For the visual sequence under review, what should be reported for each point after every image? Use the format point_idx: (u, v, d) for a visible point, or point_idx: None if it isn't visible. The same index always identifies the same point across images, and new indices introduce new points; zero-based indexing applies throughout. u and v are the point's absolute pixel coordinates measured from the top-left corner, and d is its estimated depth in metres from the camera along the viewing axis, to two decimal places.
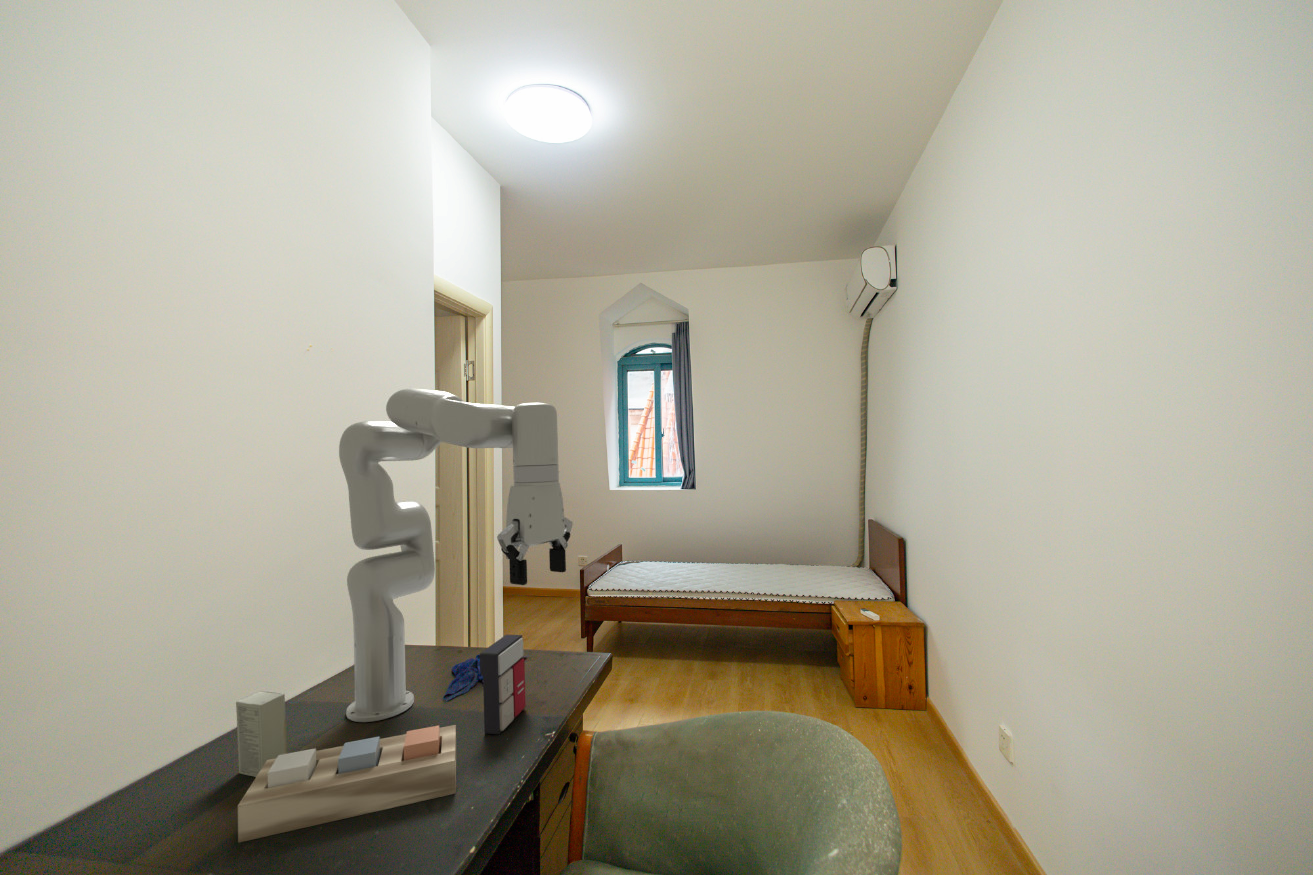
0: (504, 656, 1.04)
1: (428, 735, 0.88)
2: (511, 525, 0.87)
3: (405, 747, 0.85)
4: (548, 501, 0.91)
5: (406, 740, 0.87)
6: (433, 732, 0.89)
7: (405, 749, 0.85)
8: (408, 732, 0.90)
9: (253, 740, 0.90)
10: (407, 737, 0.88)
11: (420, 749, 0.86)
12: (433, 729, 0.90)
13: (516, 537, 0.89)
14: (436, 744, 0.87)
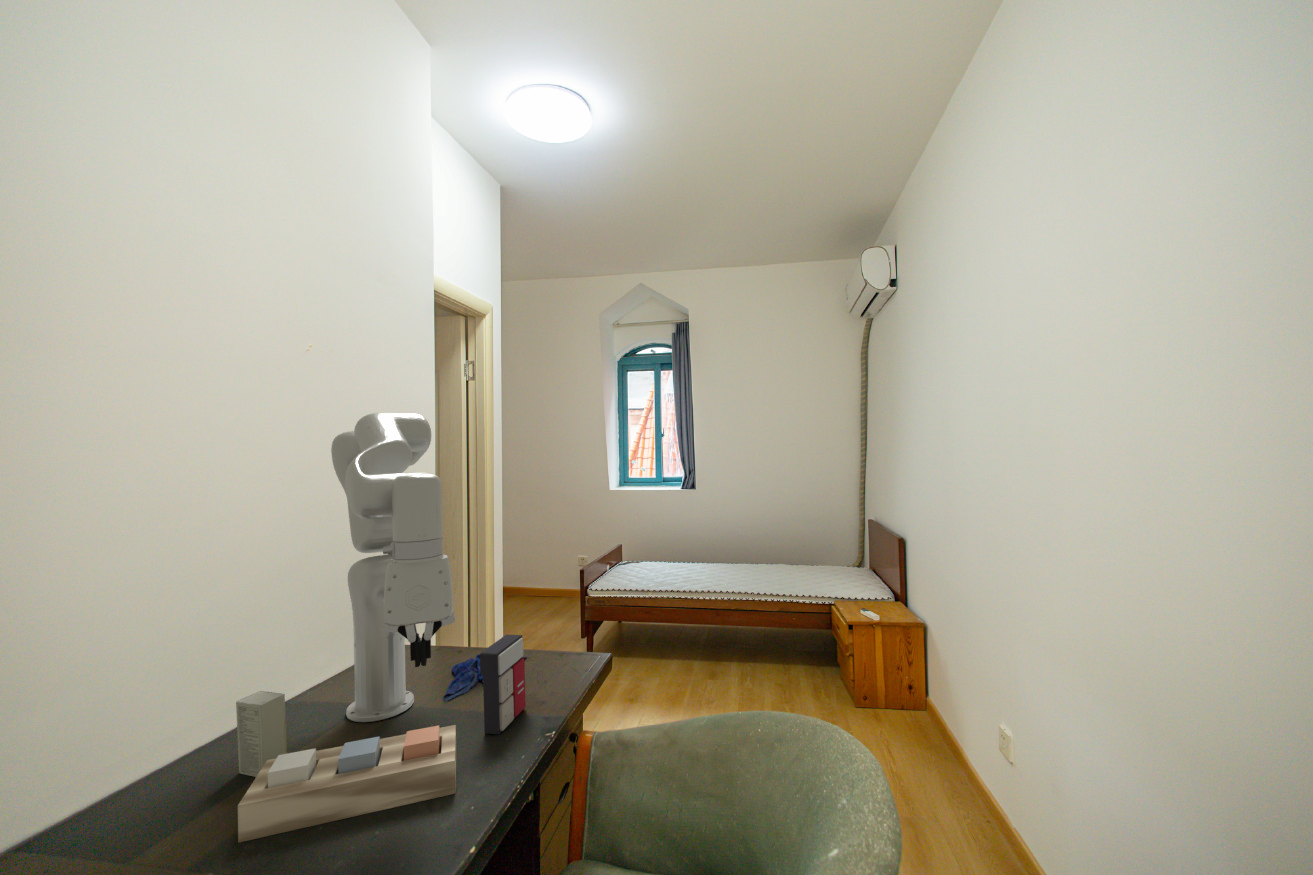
0: (504, 656, 1.04)
1: (428, 735, 0.88)
2: None
3: (405, 747, 0.85)
4: None
5: (406, 740, 0.87)
6: (433, 732, 0.89)
7: (405, 749, 0.85)
8: (408, 732, 0.90)
9: (253, 740, 0.90)
10: (407, 737, 0.88)
11: (420, 749, 0.86)
12: (433, 729, 0.90)
13: None
14: (436, 744, 0.87)
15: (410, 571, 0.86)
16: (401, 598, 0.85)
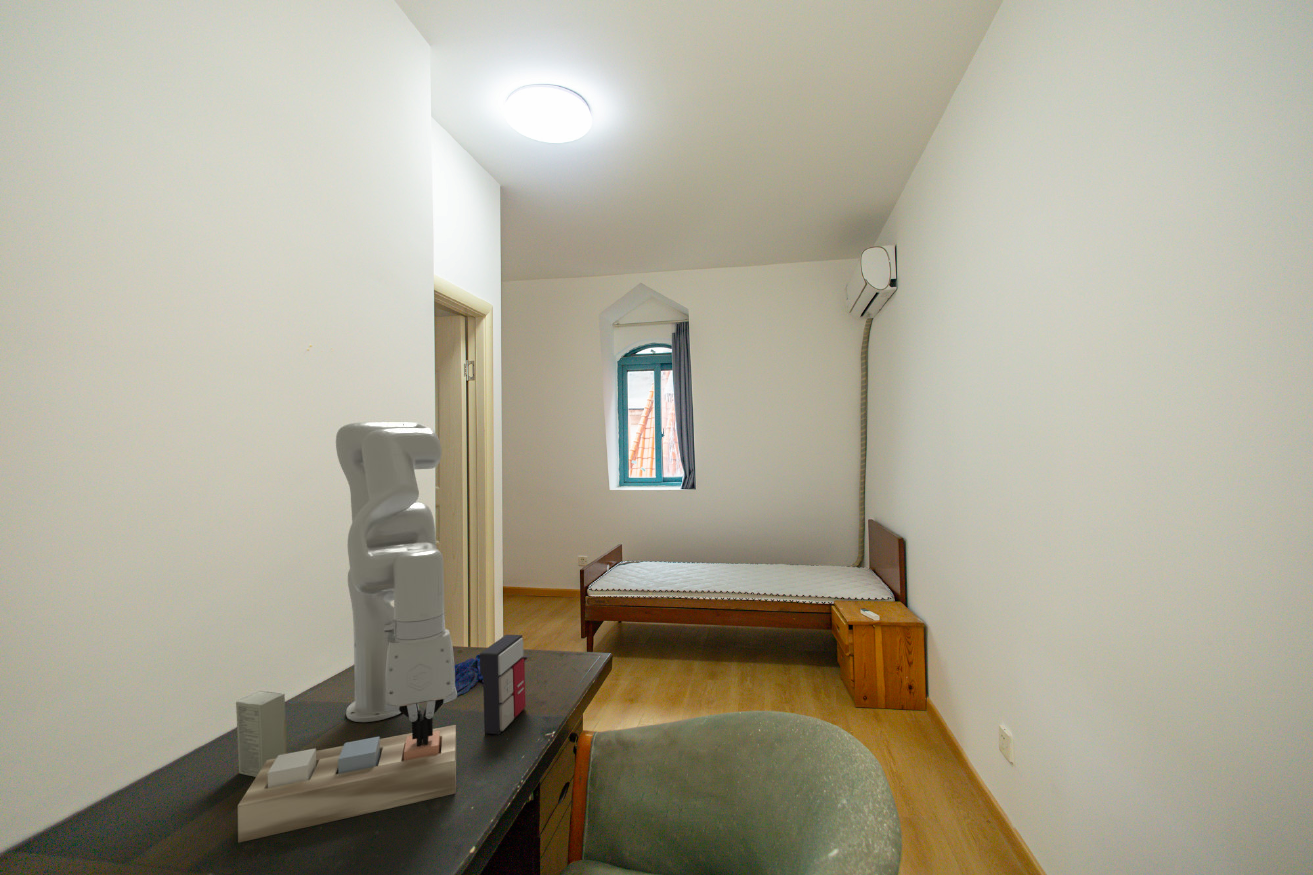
0: (504, 656, 1.04)
1: (429, 740, 0.88)
2: None
3: (405, 753, 0.85)
4: None
5: (406, 745, 0.87)
6: (433, 737, 0.89)
7: (405, 755, 0.85)
8: (408, 737, 0.89)
9: (253, 740, 0.90)
10: (407, 742, 0.88)
11: (420, 754, 0.86)
12: (433, 735, 0.90)
13: None
14: (436, 749, 0.87)
15: (412, 650, 0.86)
16: (403, 678, 0.85)
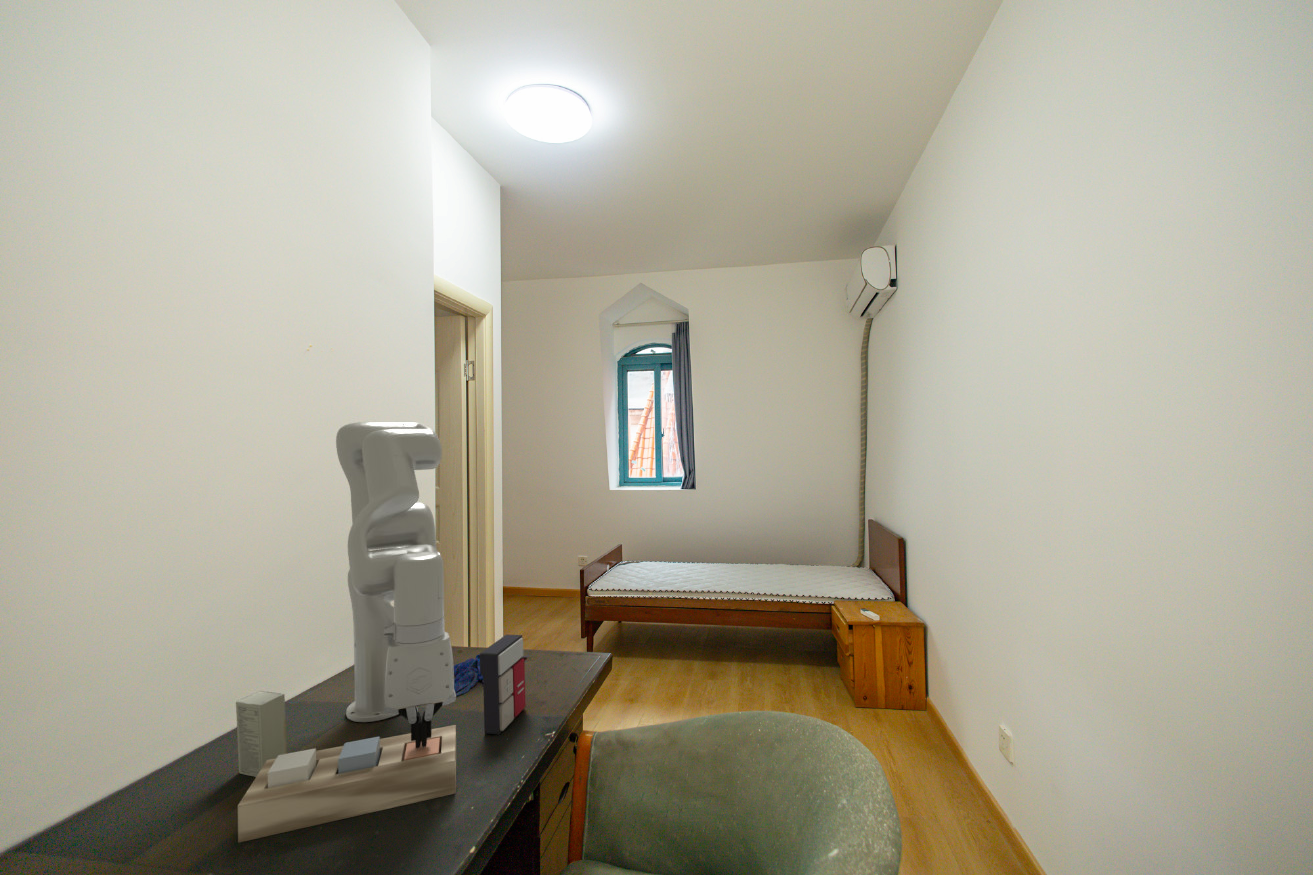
0: (504, 656, 1.04)
1: (429, 747, 0.88)
2: None
3: None
4: None
5: (406, 753, 0.87)
6: (433, 745, 0.89)
7: None
8: (408, 744, 0.89)
9: (253, 740, 0.90)
10: (407, 750, 0.88)
11: None
12: (433, 742, 0.90)
13: None
14: None
15: (412, 654, 0.86)
16: (402, 681, 0.85)
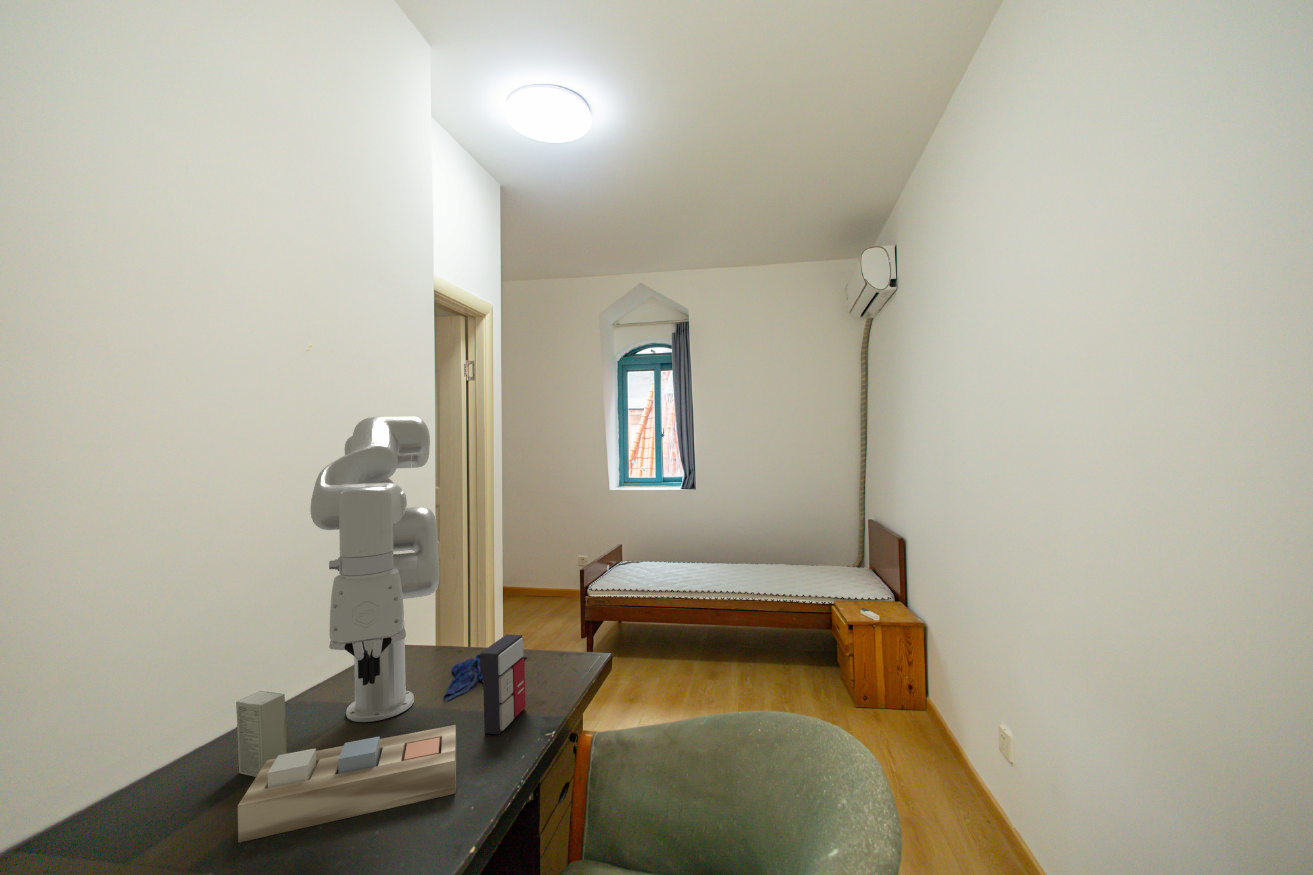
0: (504, 656, 1.04)
1: (429, 747, 0.88)
2: None
3: None
4: None
5: (406, 753, 0.87)
6: (433, 745, 0.89)
7: None
8: (408, 744, 0.89)
9: (253, 740, 0.90)
10: (407, 750, 0.88)
11: None
12: (433, 742, 0.90)
13: None
14: None
15: (358, 587, 0.84)
16: (348, 615, 0.83)
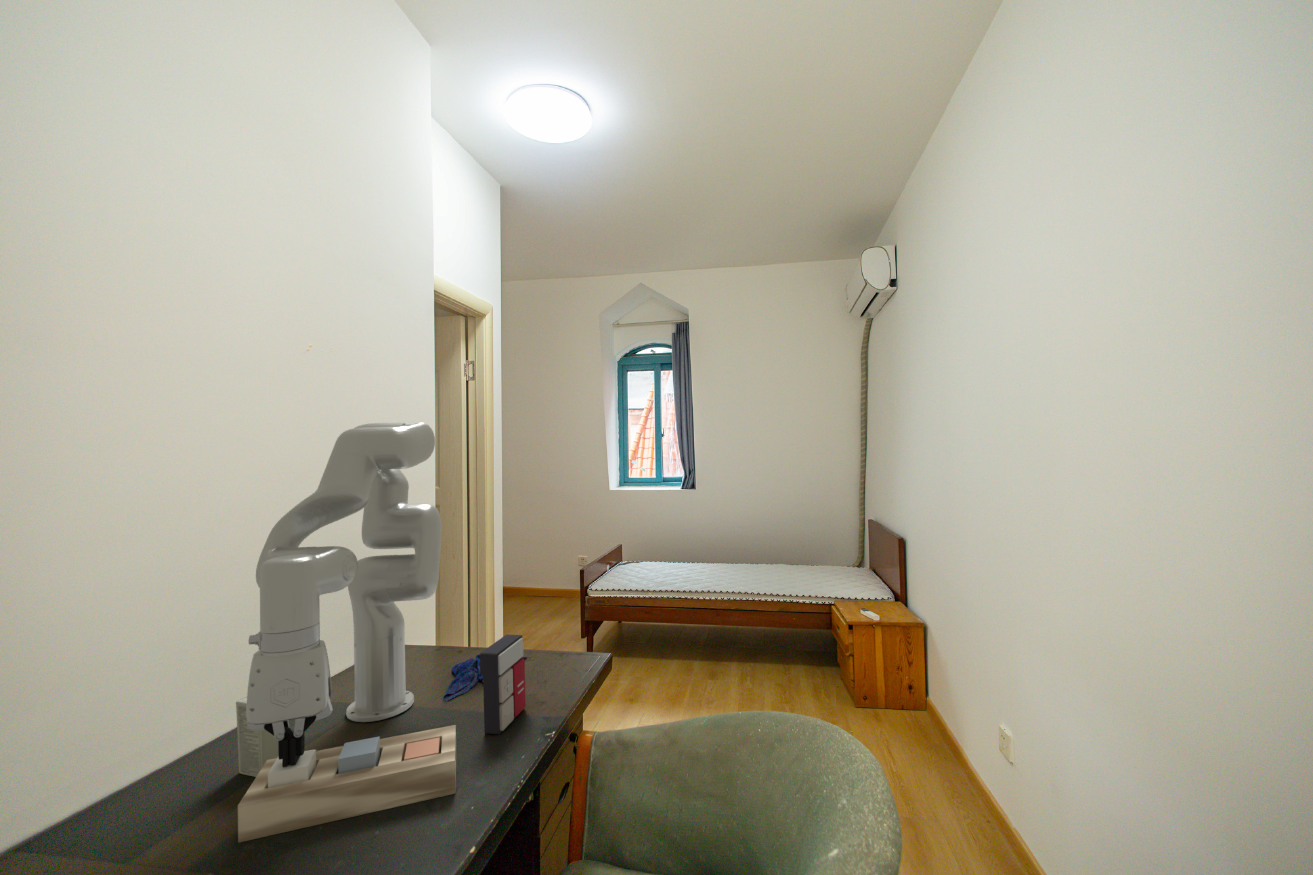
0: (504, 656, 1.04)
1: (429, 747, 0.88)
2: None
3: None
4: None
5: (406, 753, 0.87)
6: (433, 745, 0.89)
7: None
8: (408, 744, 0.89)
9: (253, 740, 0.90)
10: (407, 750, 0.88)
11: None
12: (433, 742, 0.90)
13: None
14: None
15: (277, 664, 0.80)
16: (266, 694, 0.79)
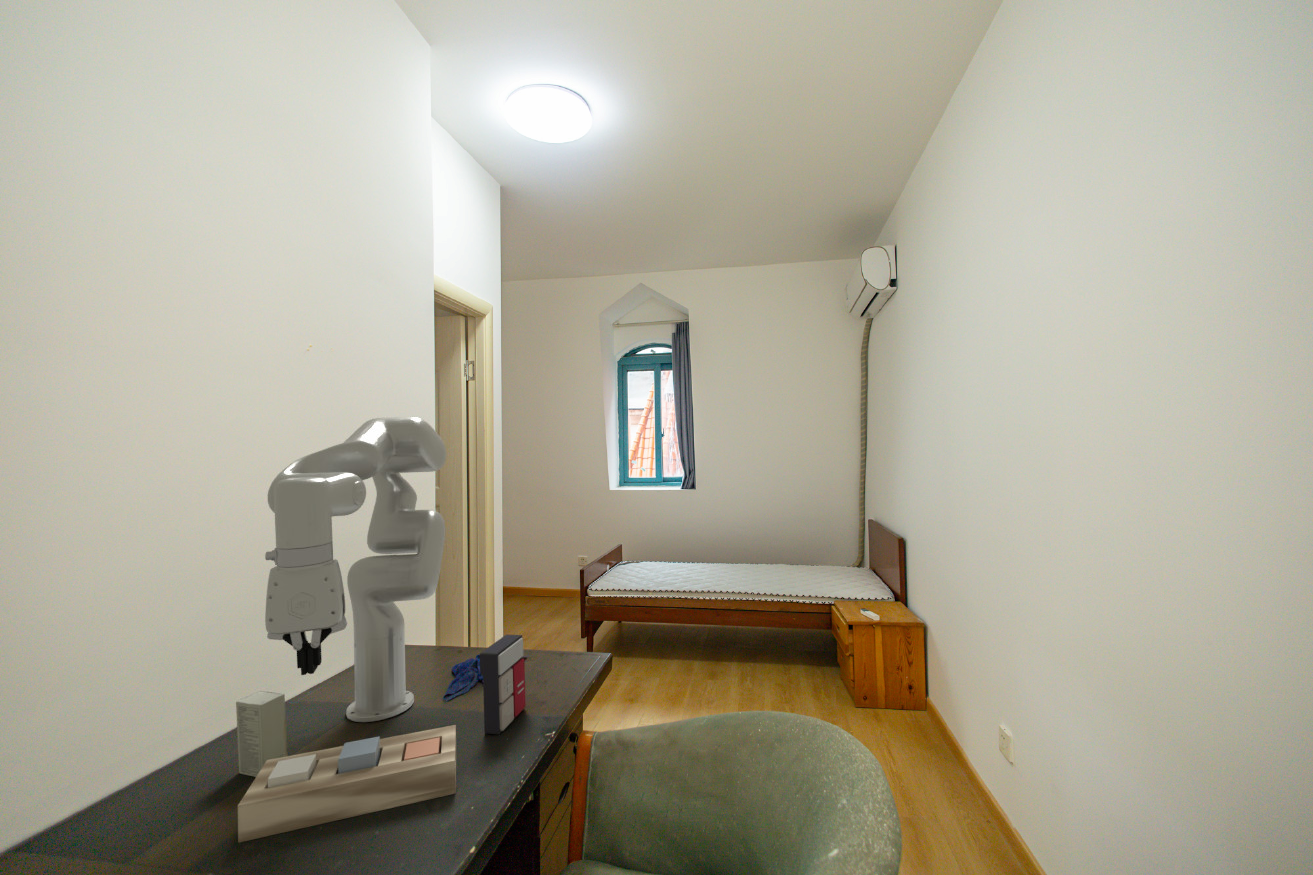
0: (504, 656, 1.04)
1: (429, 747, 0.88)
2: None
3: None
4: None
5: (406, 753, 0.87)
6: (433, 745, 0.89)
7: None
8: (408, 744, 0.89)
9: (253, 740, 0.90)
10: (407, 750, 0.88)
11: None
12: (433, 742, 0.90)
13: None
14: None
15: (293, 578, 0.83)
16: (283, 606, 0.83)
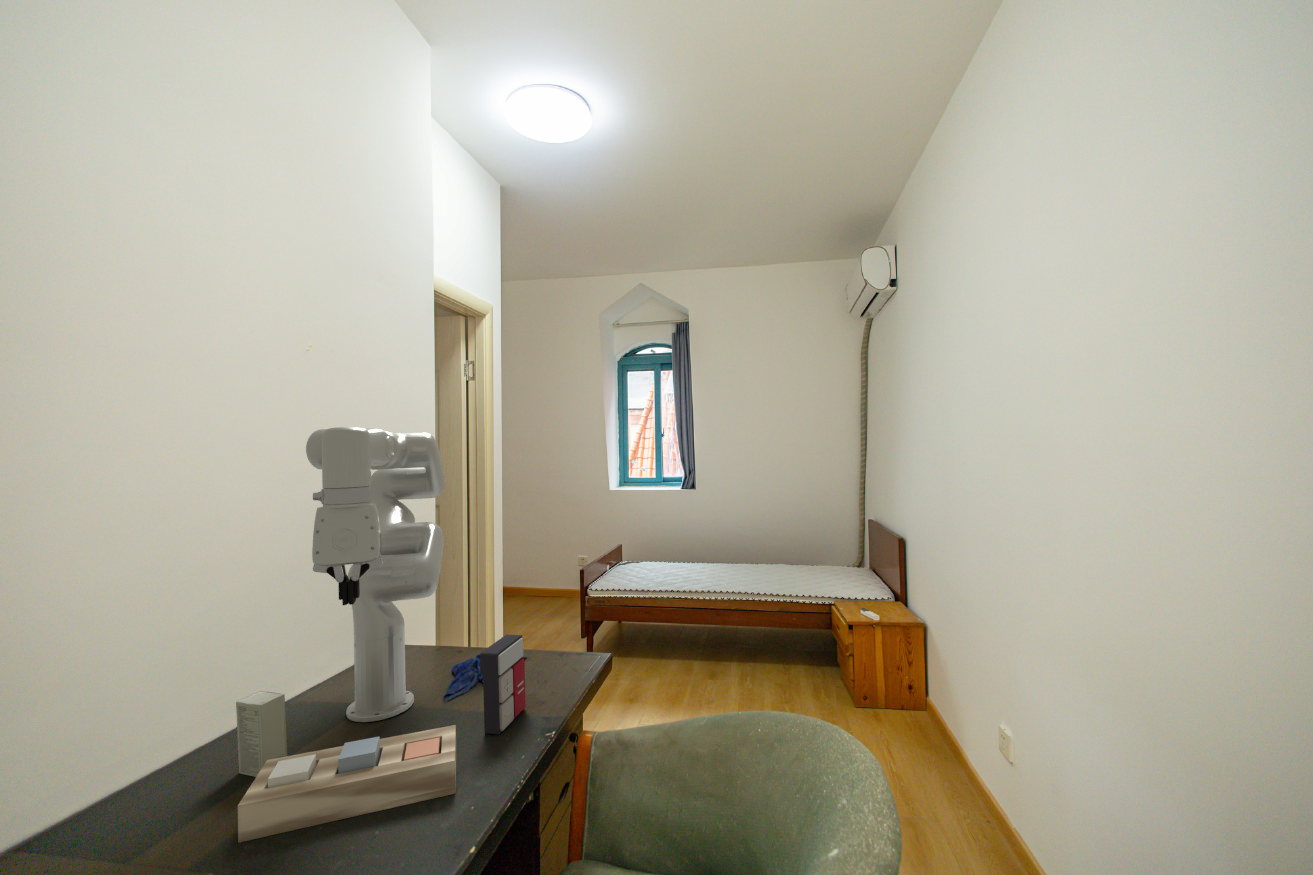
0: (504, 656, 1.04)
1: (429, 747, 0.88)
2: None
3: None
4: None
5: (406, 753, 0.87)
6: (433, 745, 0.89)
7: None
8: (408, 744, 0.89)
9: (253, 740, 0.90)
10: (407, 750, 0.88)
11: None
12: (433, 742, 0.90)
13: None
14: None
15: (338, 515, 0.93)
16: (328, 540, 0.92)
